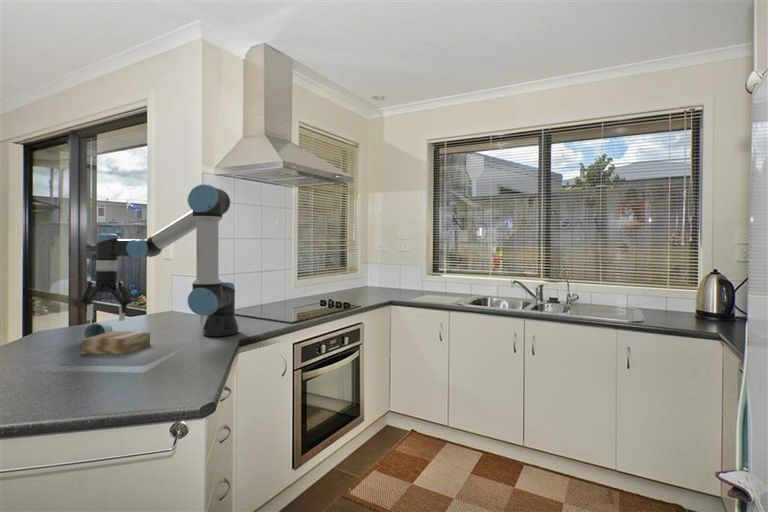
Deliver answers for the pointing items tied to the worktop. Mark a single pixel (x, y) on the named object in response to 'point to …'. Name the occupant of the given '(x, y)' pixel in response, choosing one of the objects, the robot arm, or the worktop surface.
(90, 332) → the cup
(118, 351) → the base
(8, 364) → the worktop surface
